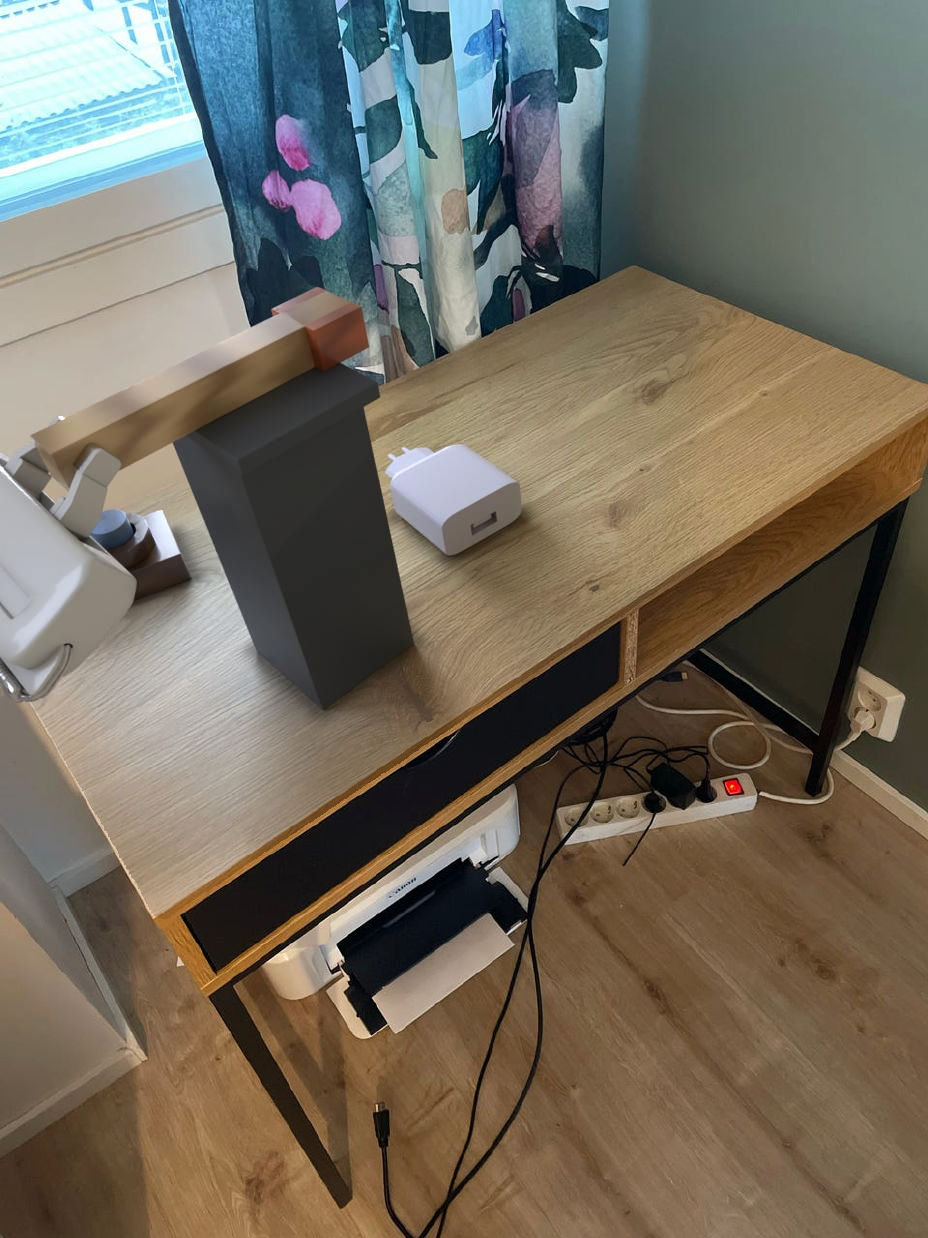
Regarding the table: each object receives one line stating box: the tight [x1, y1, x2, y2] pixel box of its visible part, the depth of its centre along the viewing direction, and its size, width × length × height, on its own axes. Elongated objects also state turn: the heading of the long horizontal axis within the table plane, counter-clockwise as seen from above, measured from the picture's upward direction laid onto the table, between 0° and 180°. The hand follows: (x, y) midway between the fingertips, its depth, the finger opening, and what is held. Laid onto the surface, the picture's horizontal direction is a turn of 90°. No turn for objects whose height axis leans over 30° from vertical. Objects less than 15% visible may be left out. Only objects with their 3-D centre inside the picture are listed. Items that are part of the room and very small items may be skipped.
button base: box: [90, 509, 192, 601], centre depth 86 cm, size 10×8×5 cm
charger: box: [384, 443, 523, 556], centre depth 89 cm, size 5×9×15 cm
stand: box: [172, 362, 415, 711], centre depth 69 cm, size 11×13×26 cm
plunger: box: [90, 508, 134, 550], centre depth 84 cm, size 4×4×2 cm
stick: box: [30, 286, 370, 493], centre depth 57 cm, size 22×5×3 cm, turn 133°
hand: (90, 437), depth 54 cm, fingers closed on stick, 3 cm apart
